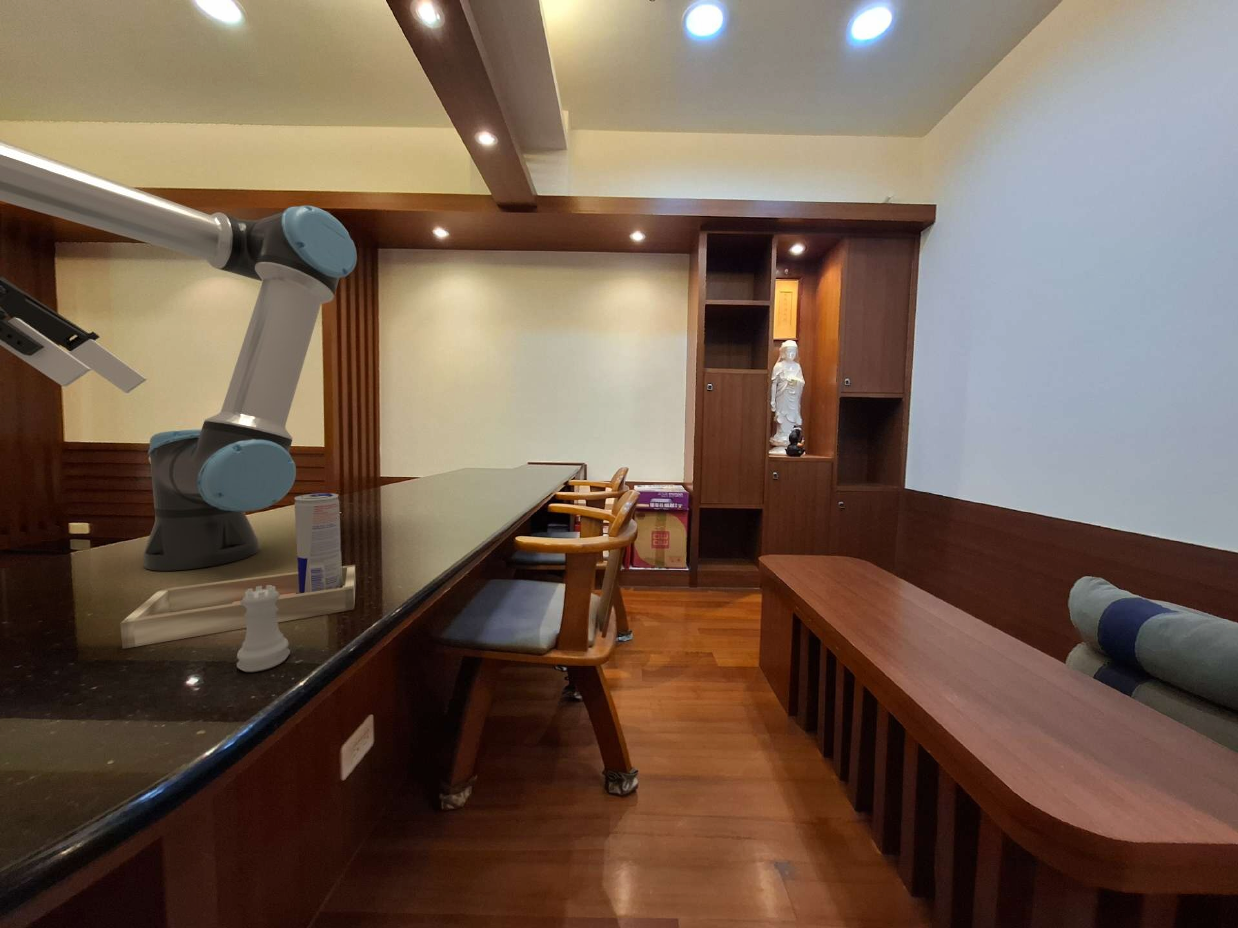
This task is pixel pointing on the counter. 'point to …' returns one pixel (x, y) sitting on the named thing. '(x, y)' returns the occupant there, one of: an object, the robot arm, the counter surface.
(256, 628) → the rook chess piece
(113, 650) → the counter surface
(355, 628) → the counter surface
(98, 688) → the counter surface
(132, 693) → the counter surface
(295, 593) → the pads
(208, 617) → the wooden serving tray
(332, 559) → the beverage can
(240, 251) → the robot arm
